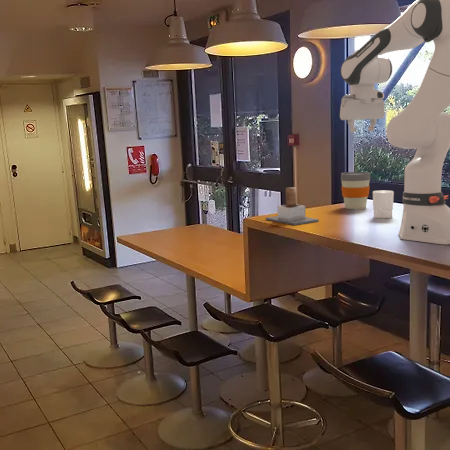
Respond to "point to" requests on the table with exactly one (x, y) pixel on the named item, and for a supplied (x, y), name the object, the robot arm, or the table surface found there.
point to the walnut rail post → (291, 197)
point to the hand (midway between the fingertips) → (362, 131)
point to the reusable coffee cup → (355, 189)
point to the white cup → (383, 203)
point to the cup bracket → (292, 215)
